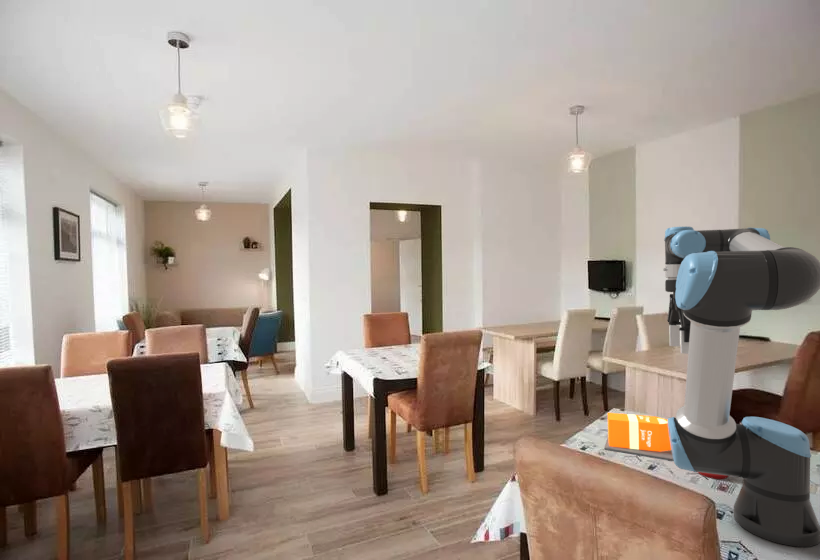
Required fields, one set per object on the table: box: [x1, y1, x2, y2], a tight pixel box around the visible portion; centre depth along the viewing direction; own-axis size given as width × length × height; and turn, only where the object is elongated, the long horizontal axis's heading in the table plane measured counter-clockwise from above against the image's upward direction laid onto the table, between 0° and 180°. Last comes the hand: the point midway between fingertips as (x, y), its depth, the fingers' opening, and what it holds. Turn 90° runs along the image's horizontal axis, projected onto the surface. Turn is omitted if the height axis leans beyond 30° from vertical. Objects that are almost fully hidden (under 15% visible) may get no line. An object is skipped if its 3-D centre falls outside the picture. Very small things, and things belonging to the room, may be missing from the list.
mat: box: [604, 437, 674, 462], centre depth 145 cm, size 14×21×1 cm, turn 60°
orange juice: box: [607, 412, 671, 452], centre depth 144 cm, size 8×9×20 cm
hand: (680, 349), depth 134 cm, fingers open, 13 cm apart
